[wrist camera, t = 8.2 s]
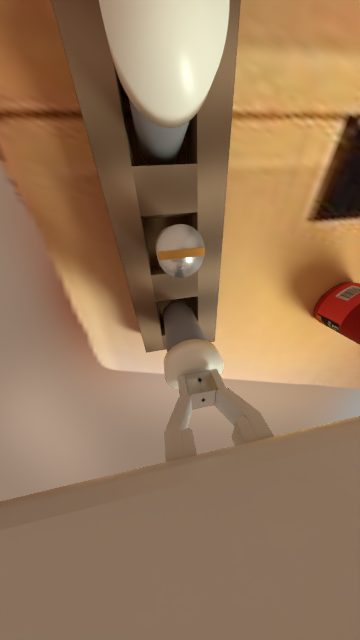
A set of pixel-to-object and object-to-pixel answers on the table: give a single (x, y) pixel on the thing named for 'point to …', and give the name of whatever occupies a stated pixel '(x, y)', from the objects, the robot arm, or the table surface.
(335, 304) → the canned food
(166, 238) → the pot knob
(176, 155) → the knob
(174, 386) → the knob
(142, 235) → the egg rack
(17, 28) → the table surface
